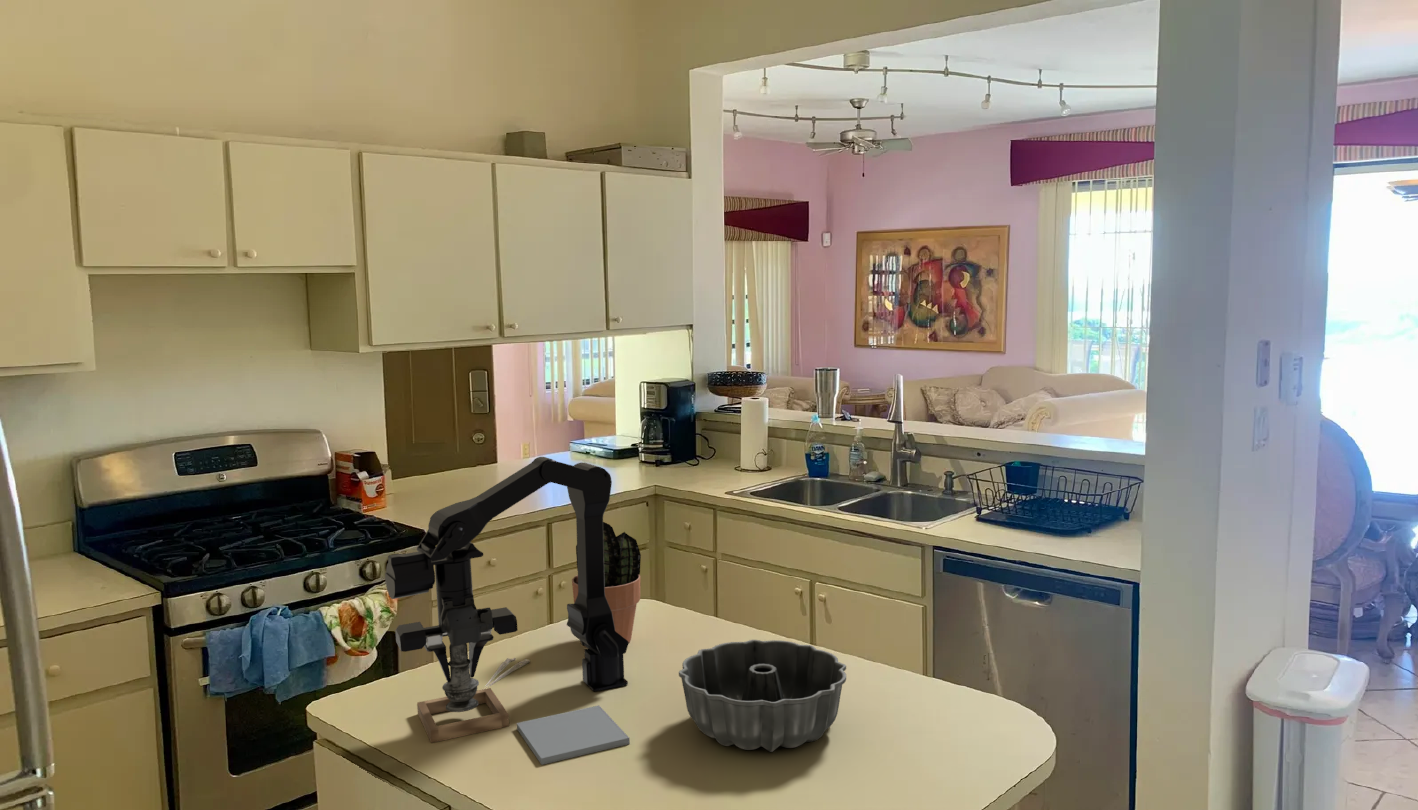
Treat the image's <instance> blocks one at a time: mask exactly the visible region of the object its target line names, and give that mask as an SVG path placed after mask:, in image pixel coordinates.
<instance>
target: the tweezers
mask: <svg viewBox="0 0 1418 810" xmlns="http://www.w3.org/2000/svg"><path fill="white" fill-rule="evenodd" d="M516 659H517V658H516V657H514V658H509V657H508V658H506V659H505V660H504V661H503V662H502V663H501V664H500V665H499V666H498V668H497V670H496V671H495V672H494V673H493V675H492V676H491V678H490V679H489V680H488V682H487V683H486V684H485V686H486V687H485V686H484V687H485V688H484V689H486V688H487V687H488V688H490V687H491V686H493V685H494V684H496V683H497V682H499V681H500V680H501V678H502V679H503V678H505V677H507V676H508V675H509V674H511V673H513V672H514V671H516V670H518V669H520V668H522V667H524V666H525V665H527V664H529V663H530V662H531V660H530V659H527V658H524V659H523V660H520V661H519V662H517V663H516V664H514V665H513V666H512V667H510V668H508V669H507V670H506V671H504V672H503V670H504V669H505V668H506V667H507V666H508V665H509V664H510V663H512V662H516ZM501 672H503V673H501ZM500 673H501V674H500ZM499 674H500V675H499ZM498 675H499V676H498ZM497 676H498V677H497ZM496 677H497V678H496ZM489 686H490V687H489Z"/></svg>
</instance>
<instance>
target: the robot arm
mask: <svg viewBox="0 0 1418 810" xmlns="http://www.w3.org/2000/svg"><path fill="white" fill-rule="evenodd" d="M612 482H613V481H612V477H611V474H610V473H609V471H607V469H605V468H604V467H601V466H598V465H594V464H591V463H588V462H578V463H576V464H574V465H572V464H567V463H564V462H560V461H557V460H555V459H552V458H549V457H546V456H538V457H536V458H534V459H533V461H531V462H530V463H529V464H527V465H526V466H523V467H522V468H521V469H519V470H517V471H516V472H515V473H513V474H511V475H509V476H508V477H506V478H504V479H502V480H501V481H499V482H498V483H496V484H495V485H493V486H490V488H489V489H487V490H485V491H483V492H482V493H480V494H479V495H477V496H475V497H472V498H470V499H466V500H462V501H458V502H454V503H452V504H450V505H448V506H445V507H442V508H440V509H438V510H437V511H435V512H434V513H433V514H432V515H431V516H430V519H429V521H428V526H427V527H428V529H427V530H426V533H425V534H424V535H423V538H422V539H421V540H420V541H419V543H418V545H417V546H416V551H415V552H414V551H413V552H407V553H403V554H402V553H400V554H398V553H394V554H389V555H388V556H387V562H388V563H387V564H386V570H385V571H386V572H385V573H384V579H385V586H386V591H387V594H388V596H389V598H390V599H391V600H394V599H400V598H405V597H411V596H416V595H417V596H418V595H421V594H427V593H429V591H430V589H433V588H434V585H435V587H436V589H435V591H436V606H437V621H438V625H433V626H426V627H424V626H423V625H422V623H421V621H416V622H411V623H406V624H405V623H404V624H399V625H398V626H397V627H396V629H395V642H396V644H397V646H398V648H399V650H400V652H404V653H405V652H410V651H416V650H422V649H423V648H424V649H425V650H426V652H433V653H434V655H435V656H436V659H437V661H438V663H439V665H440V667H441V670H442V672H443V673H442V674H443V675H444V677H445V680H446V682H450V676H451V673H450V666H449V665H448V662H449V661H448V655H447V646H446V645H445V643H444V641H443V637H448V640H449V645H450V644H451V645H453V646H460V645H461V644H465V643H467V644H468V659H469V660H470V661H471V662H470V663H469V673H470V676H471V678H475V674H476V670H477V667H478V664H479V661H480V657H481V654H482V653H483V649H484V647H485V646H486V644H488V642H492V641H494V639H495V637H494V636H493V634H492V631H493V630H494V632H495V633H497V634H498V635H507V634H510V633H511V634H512V633H516V632H517V631H519V630H518V619H517V616H516V615H515V614H514V613H513V612H512V610H511V609H509V608H508V607H505V606H504V607H500V608H494V609H491V607H484V608H477V607H476V604H475V598H474V594H473V593H474V592H473V591H474V589H473V576H472V559H476V558H477V559H478V558H482V557H484V552H482V551H481V550H479V549H478V548H477V547H476V545H475V544H474V543H473V542H472V541H473V540H474V539H476V537H478V536H479V535H480V534H481V533H482V531H483V530H484V529H485V527H486V526H487V524H488V523H490V522H491V521H492V520H493V519H494V518H496V517H498V516H499V515H500V514H502V513H504V512H506V511H507V510H508V509H510V508H512V507H513V506H515V505H517V504H518V503H519V502H521V501H522V500H524V499H526V498H527V497H529V496H531V495H532V494H533V493H535V492H537V491H538V490H540V489H542V488H543V487H545V486H546V485H548V484H551V483H552V484H553V483H554V484H557V485H559V486H560V485H561V486H564V487H566V489H567V494H568V498H569V500H570V503H571V506H572V509H573V511H574V513H575V517H576V518H575V519H576V520H575V521H576V522H575V525H576V545H577V556H576V563H577V562H578V571H577V575H578V596H577V598H576V600H575V603H574V602H573V603H567V604H566V609H567V616H568V617H567V622H566V626H567V627H569V628H570V632H571V634H572V635H573V636H574V637H575V638H577V639H578V640H579V642H580V643H581V645H582V646H583V647H585V649H584V657H583V658H582V660H581V662H582V663H581V665H582V667H581V668H582V681H583V682H584V683H585V684H586V685H587V686H588V687H589V688H590V689H591V691H593V692H599V691H604V690H608V689H612V688H618V687H622V686H626V685H628V684H629V682H628V680H627V679H626V678H625V668H624V667H625V665H624V654H626V653H627V649H628V647H629V643H628V641H627V640H626V639H625V638H623V637H622V636H621V635H620V634H618V633H617V632H616V631H615V625H614V620H613V615H612V611H611V609H610V606H609V604H608V601H607V599H606V596H605V578H604V537H603V522H604V514H605V512H606V510H607V507H608V505H609V503H610V499H611V498H610V497H611V491H612Z"/></svg>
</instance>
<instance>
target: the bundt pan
mask: <svg viewBox="0 0 1418 810" xmlns="http://www.w3.org/2000/svg"><path fill="white" fill-rule="evenodd" d="M846 670H847V665H846V664H845V663H842V662H839V659H838V657H837V656H836V655H835V654H833V653H831V652H829V651H826V650H823V649H817V648H816V647H815V646H813V645H811V644H799V643H796V642H793V641H788V640H779V639H778V640H775V639H774V640H773V639H772V640H770V639H769V640H761V639H749V640H746V641H730V642H729V641H728V642H723V643H719V644H717V645H714V646H712V647H710V648H709V647H708V648H701V649H699V650H698V651H697V653H696V654H693V655H691V656H689V657H687V658H685V659H684V660H683V661H682V669H681V670H679V671H678V676H679V677H680V678H681V683H682V688H683V693H684V699H685V703H686V704H685V706H686V709H687V712H688V714H689V716H690V718H691V719H692V720H693V722H694V723H695V725H696V726H697V728H698V730H699V731H701V732H702V733H703V734H704V735H706V736H708V737H709V738H712V739H715V740H716V741H717V743H719V744H720V745H722V746H726V747H729V746H732V745H735V746H736V747H738V748H739V749H741V750H745V751H751V750H756V749H759V748H761V747H762V748H764V749H765V750H766V751H768V752H769V753H770V752H771V753H772V752H774V751H775V750H777V749H778V748H780V747H782V748H786V749H792V748H797V747H800V746H801V745H803V744H804V743H811V742H815V741H817V740H819V739H820V738H821V737H823V735H824V733H825V732H826V730H828V729H829V728H831V726H832V725H833V724H834V722H835V720H836V718H837V715H838V712H839V707H840V702H841V701H840V699H841V693H842V688H843V685H844V684H845V683H846V681H847V673H846V672H845V671H846Z"/></svg>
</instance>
